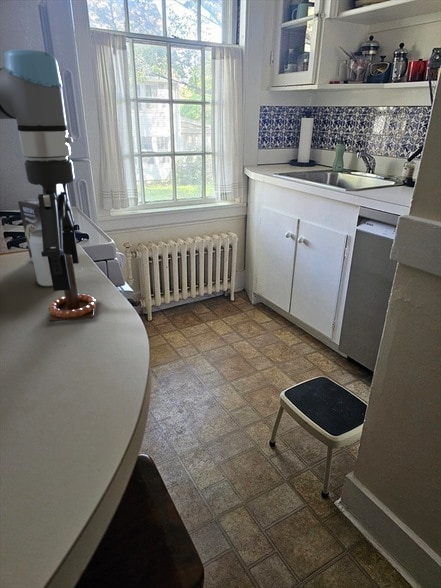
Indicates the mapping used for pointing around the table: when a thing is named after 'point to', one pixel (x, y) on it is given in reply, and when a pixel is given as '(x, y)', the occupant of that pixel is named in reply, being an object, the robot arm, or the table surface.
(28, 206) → the coffee box
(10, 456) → the table surface
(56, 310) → the ring
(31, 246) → the can
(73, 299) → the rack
